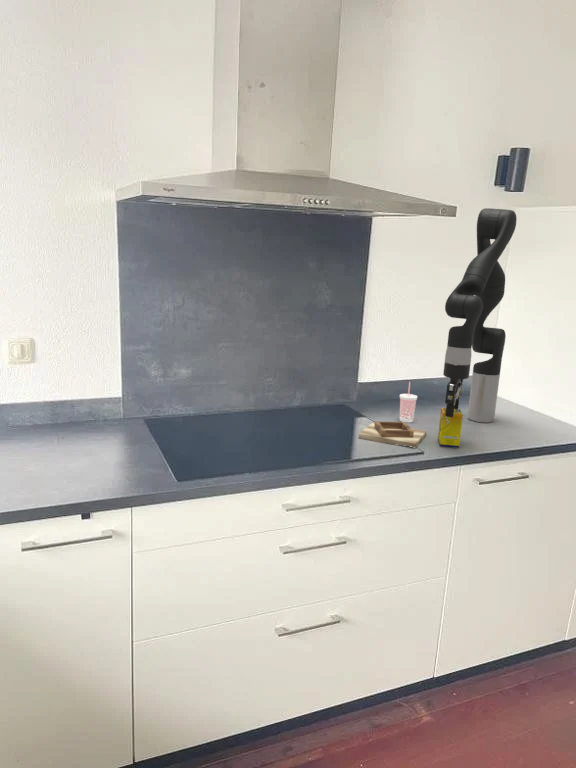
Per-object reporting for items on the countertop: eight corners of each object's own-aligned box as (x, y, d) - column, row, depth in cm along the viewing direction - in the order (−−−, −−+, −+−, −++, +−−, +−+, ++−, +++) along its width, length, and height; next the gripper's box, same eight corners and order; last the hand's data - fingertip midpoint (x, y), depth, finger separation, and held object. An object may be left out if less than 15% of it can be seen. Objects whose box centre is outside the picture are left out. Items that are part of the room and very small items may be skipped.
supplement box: (437, 440, 186) (440, 407, 184) (456, 442, 186) (460, 409, 183) (439, 446, 181) (442, 412, 178) (459, 448, 180) (463, 414, 177)
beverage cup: (413, 423, 203) (417, 384, 200) (396, 421, 205) (399, 382, 202) (416, 419, 209) (419, 381, 206) (398, 417, 211) (402, 379, 208)
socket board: (372, 426, 199) (373, 416, 198) (426, 435, 191) (427, 425, 190) (358, 438, 185) (359, 427, 184) (415, 448, 178) (416, 437, 177)
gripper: (449, 357, 185) (443, 407, 188) (440, 363, 172) (434, 416, 176) (473, 359, 182) (467, 410, 185) (466, 366, 169) (460, 420, 173)
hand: (451, 413), depth 181 cm, fingers open, 8 cm apart
